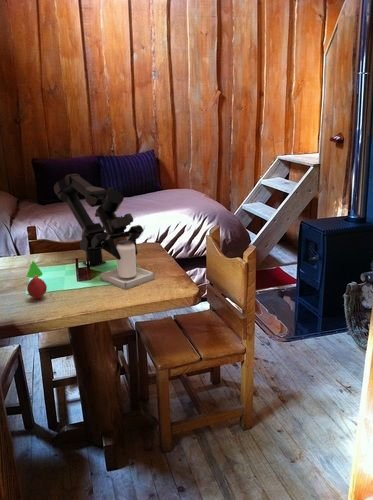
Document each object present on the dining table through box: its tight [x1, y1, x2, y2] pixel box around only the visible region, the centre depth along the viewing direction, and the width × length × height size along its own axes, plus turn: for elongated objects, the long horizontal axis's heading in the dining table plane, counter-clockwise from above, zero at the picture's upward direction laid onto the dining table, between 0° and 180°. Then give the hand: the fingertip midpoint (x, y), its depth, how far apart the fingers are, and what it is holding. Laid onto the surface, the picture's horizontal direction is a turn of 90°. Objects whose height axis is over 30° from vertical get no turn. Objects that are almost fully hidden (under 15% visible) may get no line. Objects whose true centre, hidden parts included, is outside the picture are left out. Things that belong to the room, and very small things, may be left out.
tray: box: [100, 266, 156, 291], centre depth 161 cm, size 14×13×2 cm
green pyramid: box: [26, 260, 44, 279], centre depth 167 cm, size 6×6×6 cm
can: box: [116, 240, 137, 278], centre depth 160 cm, size 6×6×12 cm
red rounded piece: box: [26, 275, 48, 300], centre depth 146 cm, size 6×6×8 cm
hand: (128, 256), depth 158 cm, fingers closed on can, 6 cm apart
